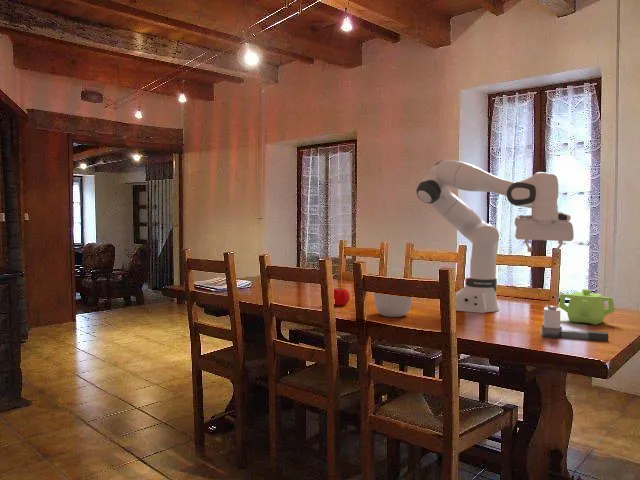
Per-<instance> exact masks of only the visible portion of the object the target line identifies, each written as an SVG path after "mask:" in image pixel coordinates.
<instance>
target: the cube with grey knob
mask: <svg viewBox="0 0 640 480" xmlns="http://www.w3.org/2000/svg"><path fill="white" fill-rule="evenodd" d="M543 325H544V327H545V328H560V326H561V308H560V307H558V308H557V306H556V305H548V306H547V307H543Z"/></svg>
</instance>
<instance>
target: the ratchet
mask: <svg viewBox="0 0 640 480" xmlns="http://www.w3.org/2000/svg"><path fill="white" fill-rule="evenodd" d="M562 327H563V326H561V325H560V328H545V327H544V324H542V325H541V336H542V337H543V338H545V339H546V338H547V339H571V340H572V339H573V340H585V341H587V340H588V341H597V342H599V341H600V342H609V333H608V332H607V331H595V330H594V331H593V330H587V331H581V330H579V331H578V330H567V329H563V328H562Z"/></svg>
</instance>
